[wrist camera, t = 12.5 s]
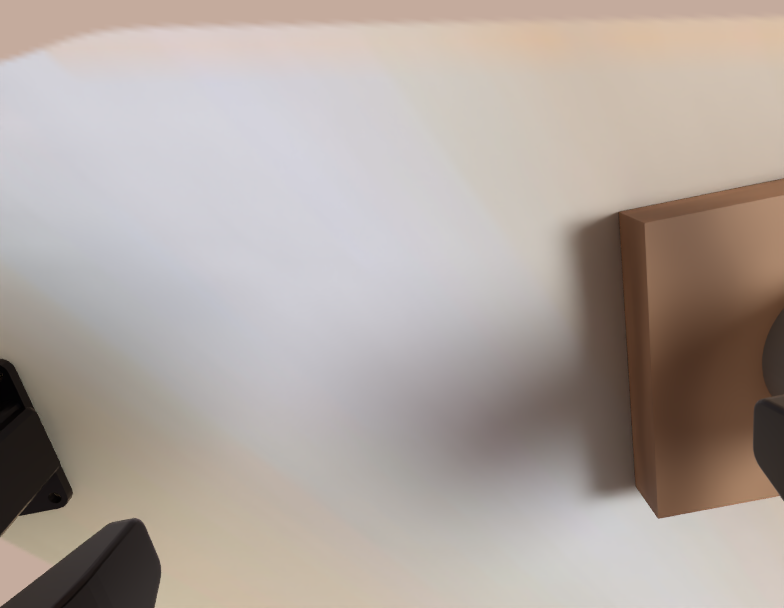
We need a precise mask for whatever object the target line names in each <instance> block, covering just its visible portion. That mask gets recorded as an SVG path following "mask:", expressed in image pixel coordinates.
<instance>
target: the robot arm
mask: <svg viewBox="0 0 784 608" xmlns="http://www.w3.org/2000/svg"><path fill="white" fill-rule="evenodd" d="M0 372H1V373H2V374H3V377H0V537H1V536H2V535H3V534H4V532H5V531H6V530H7V529H8V528H9V526H10V525H11V524H12V523H13V522H14V521H15V519H16V518H17V517H18V516H22V515H27V514H32V513H37V512H42V511H48V510H53V509H58V508H61V507H64V506H65V505H66V504H67V503H68V501H69V500H70V499H71V497H72V494H73V492H72V488H71V486H70V484H69V482H68V480H67V478H66V475H65V473H64V471H63V469H62V467H61V465H60V461H59V459H58V457H57V455H56V453H55V451H54V448H53V446H52V444H51V442H50V440H49V438H48V436H47V434H46V431H45V429H44V427H43V425H42V423H41V421H40V419H39V416H38V414H37V412H36V411H35V409H34V407H33V405H32V403H31V401H30V399H29V396H28V394H27V392H26V390H25V388H24V386H23V384H22V381H21V379H20V377H19V375H18V373H17V371H16V369H15V367H14V366H13V364H11V363H10V362H9V361H7V360H4V359H0ZM753 452H754V456H755V459H756V461H757V463H758V465H759V467H760V468H761V470H762V471H763V473H764V474H765V475H766V477H767V478H768V480H769V481H770V482H771V484H772V485H773V487H774V488H775V489H776V491H777V492H778V494H779V495H780V496H781V498H782V499H783V501H784V394H783V395H778V396H773V397H768V398H763V399H760V400H758V401H757V402H756V404H755V406H754V415H753ZM54 493H57V494H59V495H60V496H61V497H59V496H56V495H55V494H54ZM160 578H161V565H160V561H159V558H158V555H157V553H156V550H155V548H154V546H153V543H152V541H151V539H150V536H149V534H148V532H147V529H146V527H145V525H144V523H143V522H142V521H141V520H139V519H137V518H132V519H127V520H121V521H116V522H112V523H109V524H108V525H106V526H105V527H104V528H102V529H101V530H100V531H98V532H97V533H96V534H95V535H93V536H92V537H91V538H89V539H88V540H87V541H85V542H84V543H83V544H82V545H80V546H79V547H78V548H76V549H75V550H74V551H72V552H71V553H70V554H69V555H67V556H66V557H65V558H63V559H62V560H61V561H59V562H58V563H57V564H56V565H54V566H53V567H52V568H50V569H49V570H48V571H47V572H45V573H44V574H43V575H42V576H40V577H39V578H38V579H36V580H35V581H34V582H32V583H31V584H30V585H28V586H27V587H26V588H25V589H23V590H22V591H21V592H19V593H18V594H17V595H16V596H14V597H13V598H11V599H10V600H9V601H8V602H6V603H5V604H4V605H3V606H1V607H0V608H154V607H155V602H156V598H157V593H158V588H159V584H160Z"/></svg>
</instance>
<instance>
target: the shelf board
mask: <svg viewBox="0 0 784 608" xmlns="http://www.w3.org/2000/svg"><path fill="white" fill-rule="evenodd" d="M619 224H620V240H621V257H622V273H623V289H624V306H625V322H626V338H627V355H628V371H629V387H630V403H631V420H632V436H633V452H634V469H635V485H636V488H637V489H638V491H639V492H640V493H641V495H642V496H643V498H644V499H645V501H646V502H647V503H648V505H649V506H650V508H651V509H652V511H653V512H654V513H655V515H656V516H657V518H658V519H659V518H664V517H670V516H675V515H680V514H686V513H691V512H696V511H702V510H707V509H712V508H718V507H723V506H728V505H734V504H739V503H744V502H750V501H755V500H760V499H766V498H771V497H776V496H780V495H779V494H778V492H777V491H776V489H775V488H774V487H773V485H772V484H771V482H770V481H769V480H768V478H767V477H766V475H765V474H764V473H763V471H762V470H761V468H760V467H759V465H758V463H757V461H756V459H755V456H754V452H753V415H754V406H755V404H756V402H757V401H758V400H760V399H763V398H768V397H772V395H771V394H770V393H769V391H768V388H767V386H766V384H765V381H764V377H763V371H762V355H763V349H764V345H765V342H766V339H767V336H768V333H769V331H770V329H771V327H772V325H773V323H774V321H775V320H776V318H777V316H778V315H779V314H780V312H781V311H782V310H783V308H784V179H780V180H775V181H770V182H765V183H760V184H755V185H750V186H745V187H740V188H735V189H730V190H725V191H720V192H715V193H710V194H705V195H700V196H695V197H690V198H686V199H681V200H676V201H671V202H666V203H661V204H656V205H651V206H646V207H641V208H636V209H631V210H626V211H621V212H619Z"/></svg>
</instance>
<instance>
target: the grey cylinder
mask: <svg viewBox="0 0 784 608" xmlns="http://www.w3.org/2000/svg"><path fill="white" fill-rule="evenodd" d="M762 371H763V377H764V381H765V384H766V386H767V388H768V391H769V393H770V394H771V395H772V397H773V396H778V395H783V394H784V308H783V310H782V311H781V312H780V314H779V315H778V316H777V318H776V320H775V321H774V323H773V325H772V327H771V329H770V331H769V333H768V336H767V339H766V342H765V345H764V349H763V355H762Z"/></svg>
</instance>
